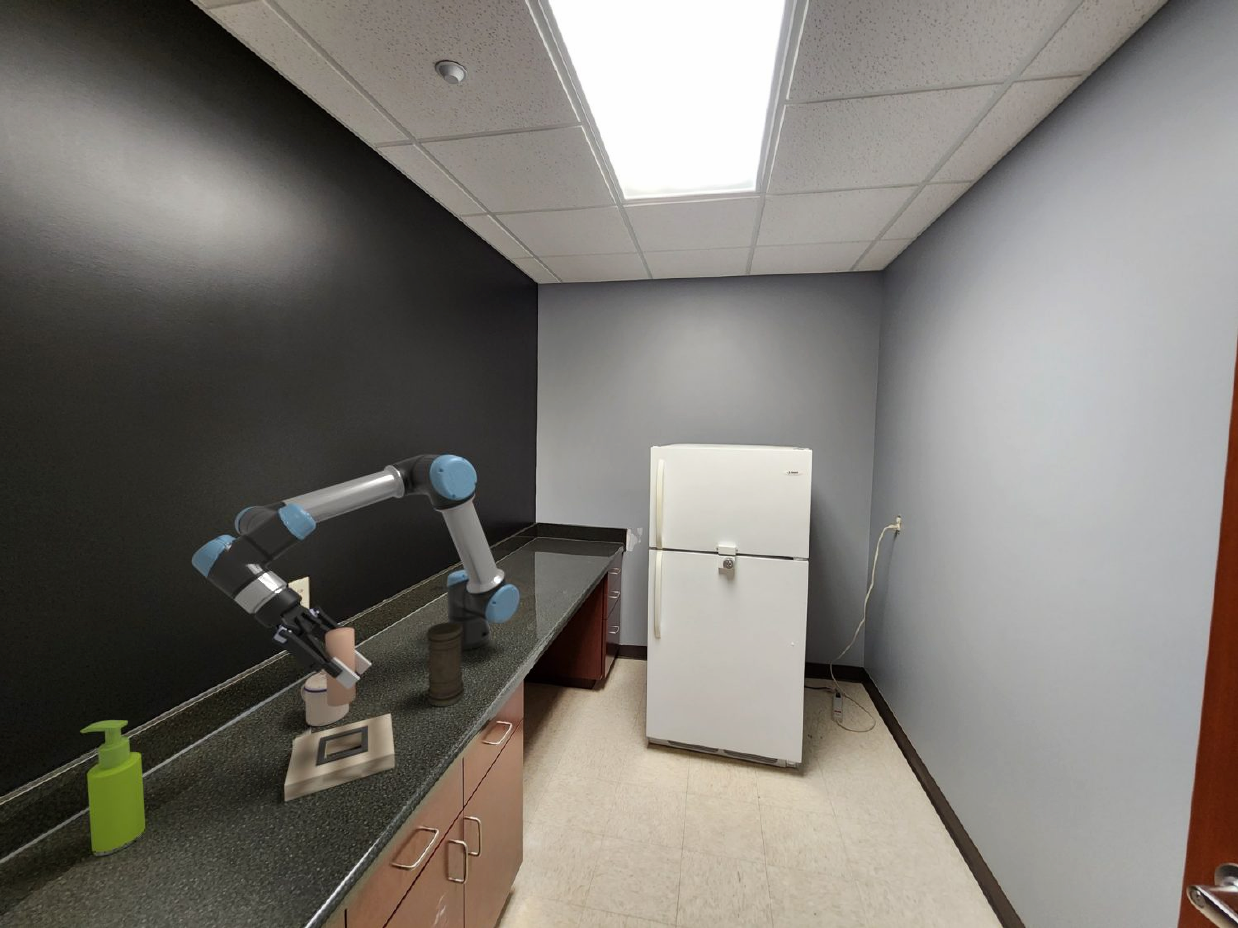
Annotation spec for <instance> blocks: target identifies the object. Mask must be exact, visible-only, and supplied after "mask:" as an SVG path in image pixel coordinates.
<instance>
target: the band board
mask: <svg viewBox="0 0 1238 928" xmlns="http://www.w3.org/2000/svg"><path fill="white" fill-rule="evenodd" d="M393 734H394V733H393V722H392V714H391V713H386V714H383V715H379V716H375V717H371V718H367V719H364V720H360V721H356V722H352V723H348V724H344V725H340V726H337V727H333V728H330V729H326V730H321V731H318V732H313V733H309V734H307V735H303V736H298V737H294V739H295V740H294V743H293V747H292V752H291V755H290V756H291V757H290V761H289V765H288V770H287V772H286V777H285V781H284V802H285V803H286V802H288V801H291V800H295V799H298V798H301V797H306V796H307V795H311V794H315V793H317V792H320V791H323V790H326V789H331V788H333V787H334V788H335V787H337V786H339V785H343V784H346V783H349V782H352V781H355V780H359V779H362V778H365V777H368V776H372V775H375V774H379V773H381V772H385V771H388V770H392V769H394V768H395V767H396V765H395V763H396V761H395V746H394V735H393ZM360 746H361V747H360ZM356 747H359V748H356ZM353 748H356V749H353ZM351 749H352V750H351ZM345 750H349V751H345ZM342 751H343V753H342ZM344 751H345V752H344ZM338 752H341V753H338ZM335 753H338V754H335ZM332 754H335V755H332ZM329 755H332V756H329Z"/></svg>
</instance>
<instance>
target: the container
mask: <svg viewBox="0 0 1238 928" xmlns="http://www.w3.org/2000/svg"><path fill="white" fill-rule="evenodd" d="M426 631H427V632H426V636H427V639H428V659H429V661H428V662H429V664H428V665H429V670H428V671H429V673H428V674H429V677H428V682H429V683H428V685H429V686H428V689H427V701H428V703H429V705H432V706H434V707H435V706H436V707H447V706H451V705H454V704H455V703H457V702H459V701H461V699H462V698H463V696H464V694H465V688H464V685H465V684H464V682H463V672H462V650H461V632H462V626H461V625H460V624H458V623H453V622H447V621H446V622H440V623H437V624H434V625H433V626H431V627H429V628H428V630H426Z"/></svg>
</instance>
